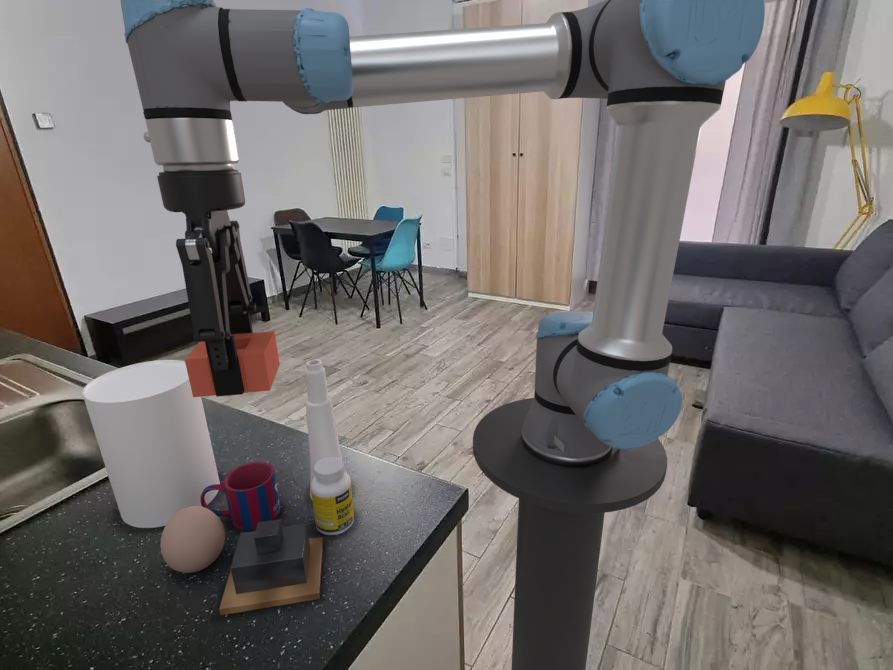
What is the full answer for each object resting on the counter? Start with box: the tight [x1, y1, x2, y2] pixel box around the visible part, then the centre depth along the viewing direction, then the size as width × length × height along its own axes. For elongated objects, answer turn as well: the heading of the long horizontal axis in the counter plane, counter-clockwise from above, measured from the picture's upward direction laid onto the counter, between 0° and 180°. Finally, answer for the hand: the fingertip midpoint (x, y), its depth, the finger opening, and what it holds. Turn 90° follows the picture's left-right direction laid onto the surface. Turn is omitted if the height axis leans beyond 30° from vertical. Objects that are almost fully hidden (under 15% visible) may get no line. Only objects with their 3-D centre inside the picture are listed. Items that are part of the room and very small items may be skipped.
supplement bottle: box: [310, 457, 355, 536], centre depth 67 cm, size 5×5×10 cm
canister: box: [81, 359, 221, 529], centre depth 71 cm, size 14×14×20 cm
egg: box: [159, 506, 226, 574], centre depth 61 cm, size 7×7×8 cm
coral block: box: [184, 331, 281, 398], centre depth 55 cm, size 8×7×4 cm
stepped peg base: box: [218, 518, 324, 616], centre depth 59 cm, size 11×9×8 cm
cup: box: [200, 461, 282, 532], centre depth 69 cm, size 7×10×7 cm
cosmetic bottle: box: [304, 358, 343, 500], centre depth 71 cm, size 6×6×22 cm
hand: (238, 378), depth 56 cm, fingers closed on coral block, 7 cm apart
